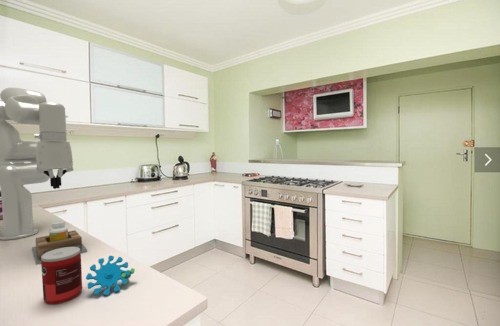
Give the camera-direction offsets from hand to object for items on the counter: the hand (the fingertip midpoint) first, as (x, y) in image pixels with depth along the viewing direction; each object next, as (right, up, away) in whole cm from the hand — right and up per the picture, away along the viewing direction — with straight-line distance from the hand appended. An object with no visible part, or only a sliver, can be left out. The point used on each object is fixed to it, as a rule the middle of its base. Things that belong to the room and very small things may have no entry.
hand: (56, 188), depth 90 cm
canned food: (+24, -24, -28) cm, 44 cm away
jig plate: (+1, -23, +1) cm, 23 cm away
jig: (+1, -23, +1) cm, 23 cm away
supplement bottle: (+1, -22, +1) cm, 22 cm away
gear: (+34, -24, -25) cm, 49 cm away
